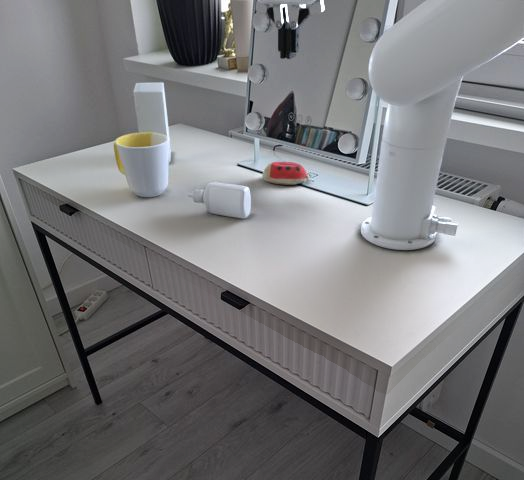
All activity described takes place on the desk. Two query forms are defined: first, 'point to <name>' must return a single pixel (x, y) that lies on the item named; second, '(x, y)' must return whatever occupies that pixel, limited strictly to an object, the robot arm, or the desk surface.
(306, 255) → the desk surface
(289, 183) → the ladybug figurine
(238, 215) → the eye dropper bottle
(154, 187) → the mug
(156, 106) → the cosmetic box
